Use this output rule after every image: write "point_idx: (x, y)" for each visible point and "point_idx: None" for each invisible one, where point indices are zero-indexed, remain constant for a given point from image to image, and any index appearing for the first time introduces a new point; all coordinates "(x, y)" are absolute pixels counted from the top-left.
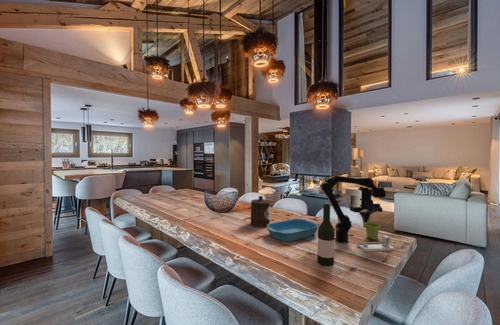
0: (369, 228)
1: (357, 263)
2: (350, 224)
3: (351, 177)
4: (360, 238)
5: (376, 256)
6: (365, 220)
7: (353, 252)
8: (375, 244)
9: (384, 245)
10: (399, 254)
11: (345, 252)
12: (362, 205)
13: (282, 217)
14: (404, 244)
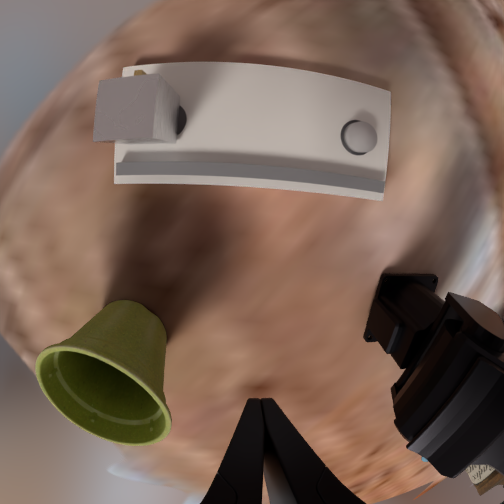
0: (150, 372)
1: (477, 29)
2: (477, 342)
3: None
4: (234, 333)
5: (361, 16)
6: (287, 426)
7: (453, 114)
8: (234, 151)
9: (179, 102)
10: (167, 5)
11: (482, 133)
12: None
13: (377, 492)
14: (6, 180)
